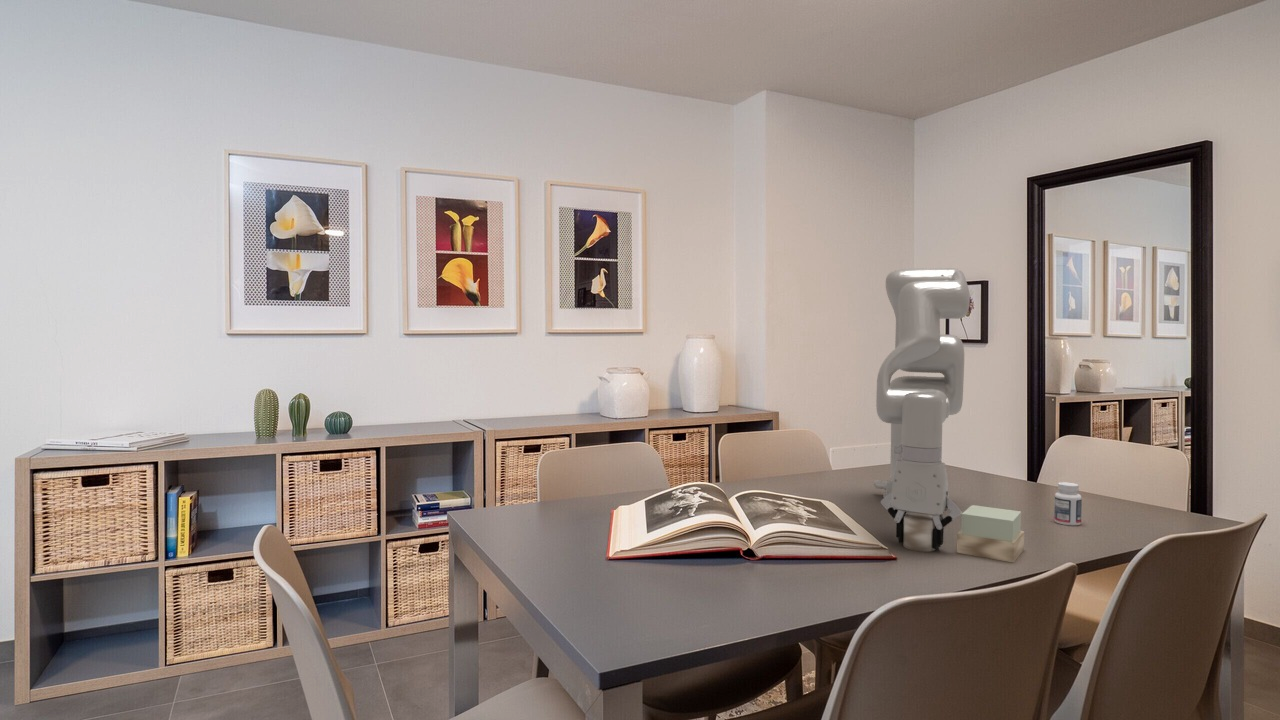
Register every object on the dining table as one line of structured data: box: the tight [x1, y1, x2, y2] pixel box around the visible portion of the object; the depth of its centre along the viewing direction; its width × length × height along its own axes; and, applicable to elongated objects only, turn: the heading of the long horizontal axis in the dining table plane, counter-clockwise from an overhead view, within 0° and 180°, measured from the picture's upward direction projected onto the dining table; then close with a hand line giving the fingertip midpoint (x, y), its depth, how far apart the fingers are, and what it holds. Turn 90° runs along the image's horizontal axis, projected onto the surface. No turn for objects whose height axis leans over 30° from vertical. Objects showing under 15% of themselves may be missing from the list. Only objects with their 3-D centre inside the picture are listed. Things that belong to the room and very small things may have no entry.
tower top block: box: [960, 504, 1022, 542], centre depth 143 cm, size 9×9×4 cm
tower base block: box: [956, 530, 1025, 563], centre depth 143 cm, size 10×10×4 cm
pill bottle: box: [1053, 481, 1083, 526], centre depth 165 cm, size 5×5×9 cm
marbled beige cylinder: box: [902, 513, 936, 553], centre depth 146 cm, size 6×6×6 cm
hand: (919, 543), depth 146 cm, fingers closed on marbled beige cylinder, 6 cm apart
